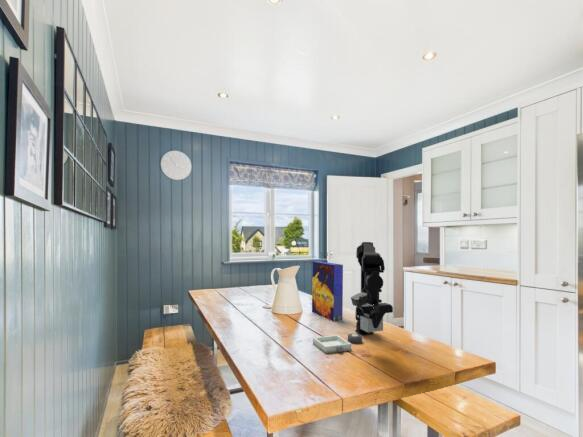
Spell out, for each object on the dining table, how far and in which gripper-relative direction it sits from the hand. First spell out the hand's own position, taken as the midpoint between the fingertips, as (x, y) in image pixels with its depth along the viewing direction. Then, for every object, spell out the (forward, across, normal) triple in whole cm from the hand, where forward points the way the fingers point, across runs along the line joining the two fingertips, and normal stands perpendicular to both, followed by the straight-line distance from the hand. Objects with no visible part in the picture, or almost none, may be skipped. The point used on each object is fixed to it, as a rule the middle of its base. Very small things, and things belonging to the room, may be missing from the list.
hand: (371, 326), depth 126 cm
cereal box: (+11, -57, +10) cm, 59 cm away
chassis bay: (+11, -12, -11) cm, 19 cm away
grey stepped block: (+1, 0, 0) cm, 1 cm away
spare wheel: (+11, -15, +2) cm, 19 cm away
